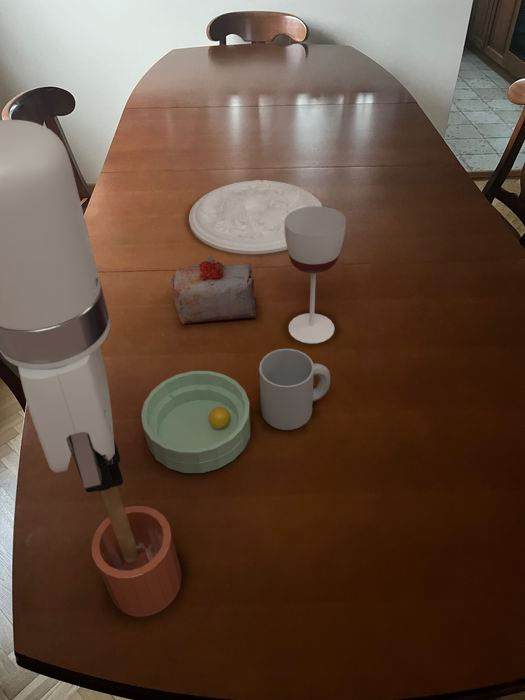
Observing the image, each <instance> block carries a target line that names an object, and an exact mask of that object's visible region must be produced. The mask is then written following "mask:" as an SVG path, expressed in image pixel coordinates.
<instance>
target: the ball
mask: <svg viewBox="0 0 525 700" xmlns="http://www.w3.org/2000/svg"><path fill="white" fill-rule="evenodd" d="M208 419H209V423H210V424H211V426H213V427H214V428H216V429H222V428H225V427H226V426H227V425H228V424H229V422H230V413H229V412H228V410H227V409H225V408H223V407H216V408H214V409H212V410H211V412H210V413H209V417H208Z"/></svg>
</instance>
